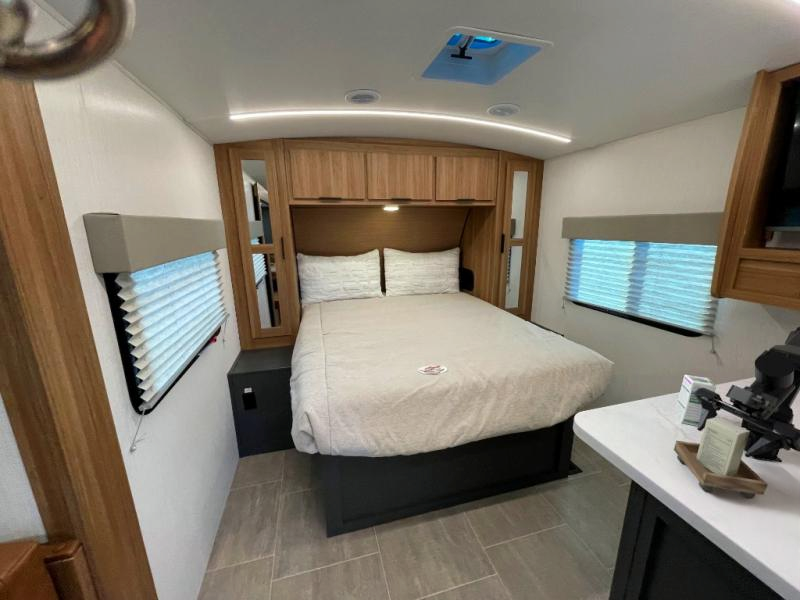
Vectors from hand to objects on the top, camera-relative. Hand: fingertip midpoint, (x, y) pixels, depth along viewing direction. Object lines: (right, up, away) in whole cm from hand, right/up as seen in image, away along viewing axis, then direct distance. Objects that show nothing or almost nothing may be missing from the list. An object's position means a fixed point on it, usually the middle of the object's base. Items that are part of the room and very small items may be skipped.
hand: (720, 442), depth 75 cm
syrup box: (+16, -5, +26) cm, 31 cm away
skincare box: (+1, -8, +3) cm, 8 cm away
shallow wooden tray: (+1, -11, +3) cm, 11 cm away
